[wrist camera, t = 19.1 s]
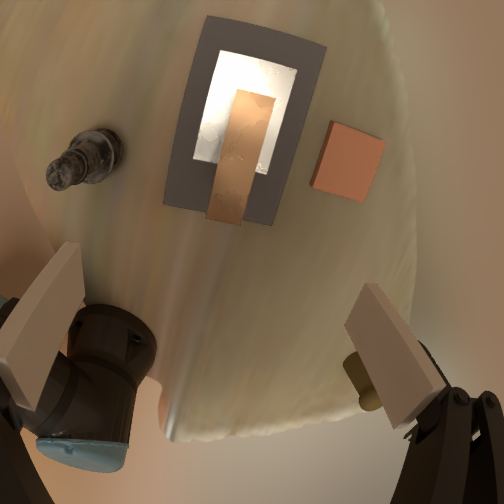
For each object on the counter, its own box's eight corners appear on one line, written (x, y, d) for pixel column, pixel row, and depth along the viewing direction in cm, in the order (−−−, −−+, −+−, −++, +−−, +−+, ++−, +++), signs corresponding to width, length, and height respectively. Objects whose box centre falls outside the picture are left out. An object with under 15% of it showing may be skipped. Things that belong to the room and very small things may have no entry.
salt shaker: (72, 157, 29) (15, 190, 19) (97, 116, 27) (39, 132, 17) (107, 184, 31) (60, 228, 21) (134, 144, 30) (90, 172, 19)
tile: (312, 188, 33) (334, 121, 29) (308, 183, 34) (329, 120, 30) (363, 203, 34) (386, 142, 30) (358, 198, 36) (379, 140, 32)
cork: (360, 346, 49) (381, 393, 40) (377, 355, 51) (398, 399, 42) (336, 365, 51) (353, 413, 42) (355, 373, 54) (371, 417, 44)
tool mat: (163, 202, 33) (163, 204, 33) (207, 16, 23) (207, 15, 23) (271, 223, 36) (271, 225, 35) (325, 48, 26) (326, 47, 25)
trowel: (258, 197, 33) (268, 231, 26) (188, 183, 32) (176, 213, 24) (295, 70, 26) (320, 62, 19) (220, 51, 25) (218, 34, 17)
